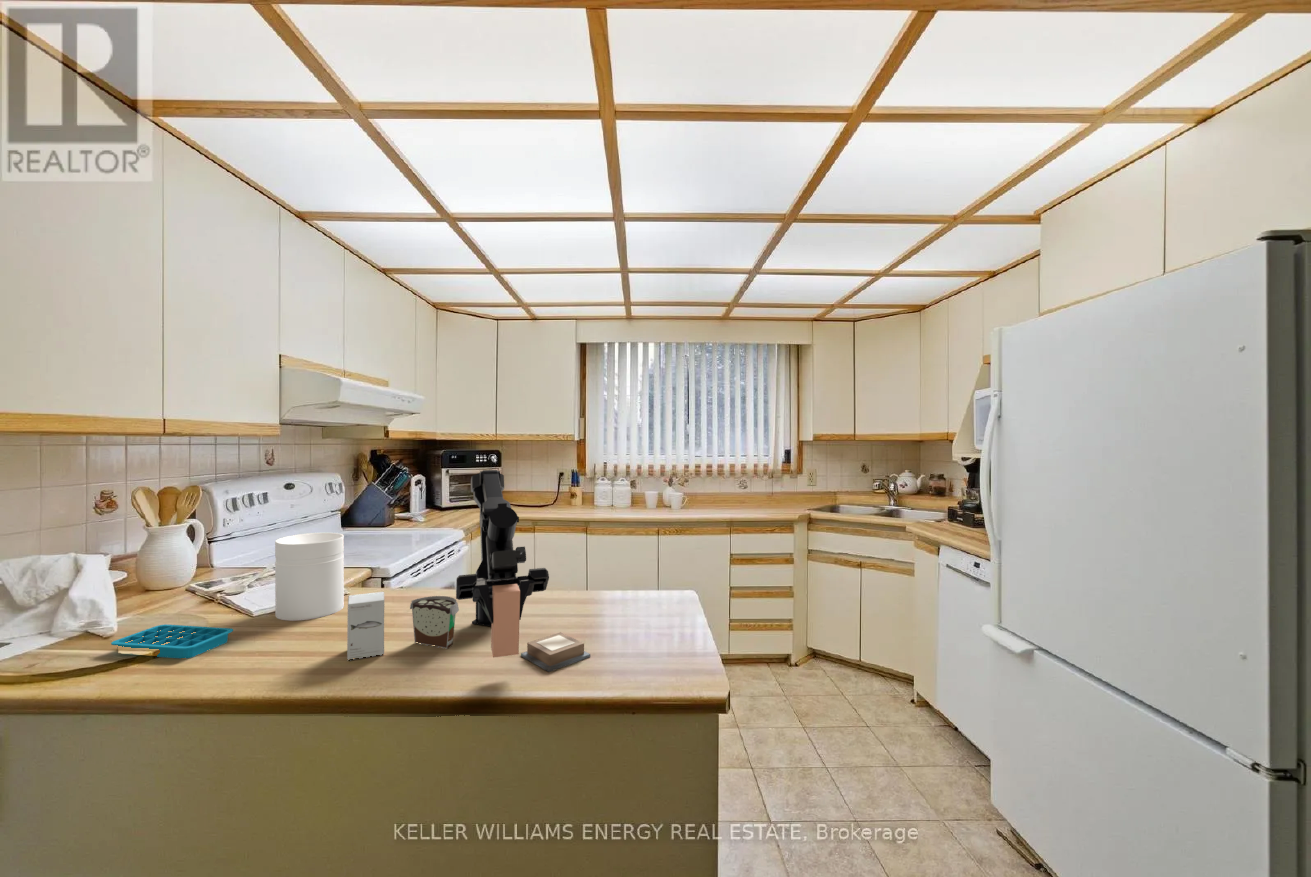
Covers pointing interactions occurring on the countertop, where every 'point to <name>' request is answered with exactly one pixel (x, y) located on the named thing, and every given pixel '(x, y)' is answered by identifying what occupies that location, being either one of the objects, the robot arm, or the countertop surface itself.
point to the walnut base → (555, 651)
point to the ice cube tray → (177, 640)
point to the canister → (309, 576)
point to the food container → (434, 620)
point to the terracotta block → (505, 620)
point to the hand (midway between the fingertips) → (506, 620)
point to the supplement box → (365, 625)
